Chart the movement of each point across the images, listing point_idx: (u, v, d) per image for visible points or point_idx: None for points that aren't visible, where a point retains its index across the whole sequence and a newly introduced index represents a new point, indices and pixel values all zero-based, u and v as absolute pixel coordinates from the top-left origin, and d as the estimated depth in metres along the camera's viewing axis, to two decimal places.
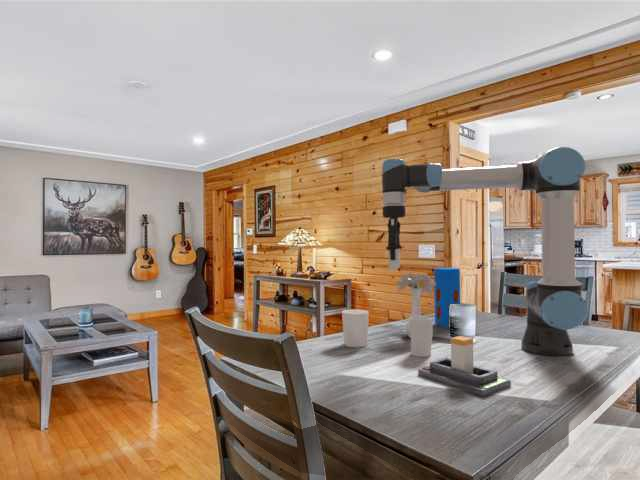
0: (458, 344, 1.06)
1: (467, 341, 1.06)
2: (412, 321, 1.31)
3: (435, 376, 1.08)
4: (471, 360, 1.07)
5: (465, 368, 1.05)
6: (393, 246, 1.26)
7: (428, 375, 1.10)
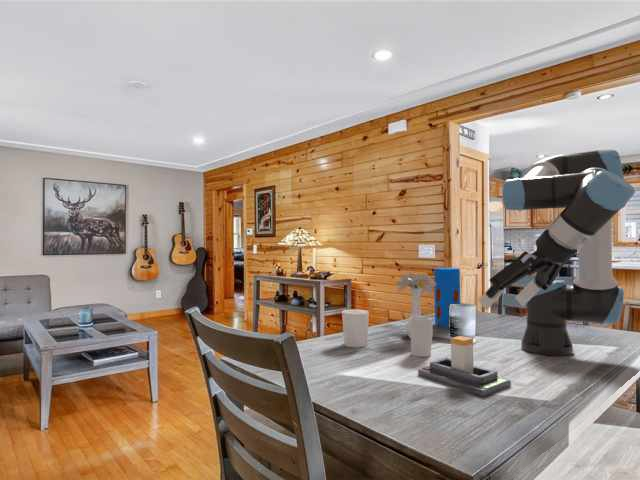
0: (458, 344, 1.06)
1: (467, 341, 1.06)
2: (412, 321, 1.31)
3: (435, 376, 1.08)
4: (471, 360, 1.07)
5: (465, 368, 1.05)
6: None
7: (428, 375, 1.10)
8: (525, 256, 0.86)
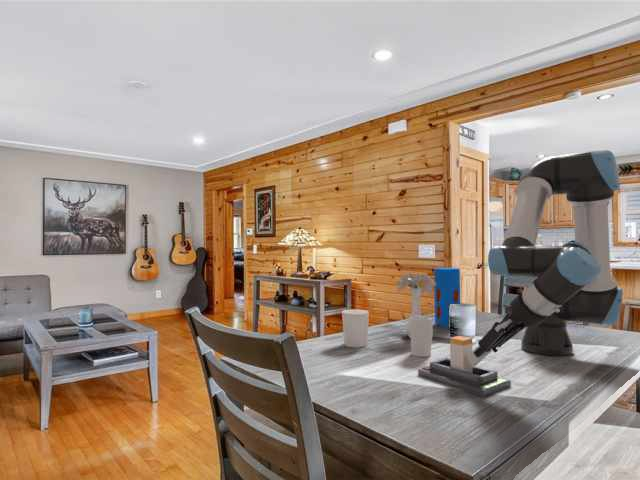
0: (457, 344, 1.07)
1: (466, 341, 1.06)
2: (412, 321, 1.31)
3: (435, 376, 1.08)
4: None
5: (464, 368, 1.06)
6: None
7: (428, 375, 1.10)
8: (496, 327, 0.93)
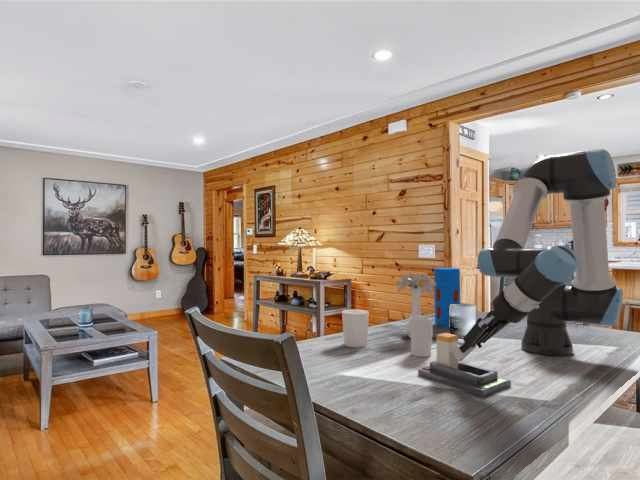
0: (443, 341, 1.10)
1: (452, 338, 1.10)
2: (412, 321, 1.31)
3: (435, 376, 1.08)
4: None
5: (450, 363, 1.09)
6: None
7: (428, 375, 1.10)
8: (479, 323, 0.97)
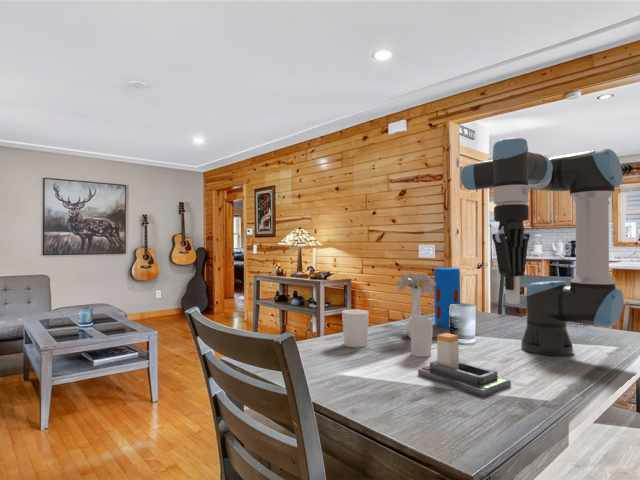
0: (444, 341, 1.10)
1: (452, 338, 1.10)
2: (412, 321, 1.31)
3: (435, 376, 1.08)
4: (456, 356, 1.11)
5: (451, 364, 1.09)
6: None
7: (428, 375, 1.10)
8: (496, 238, 0.93)
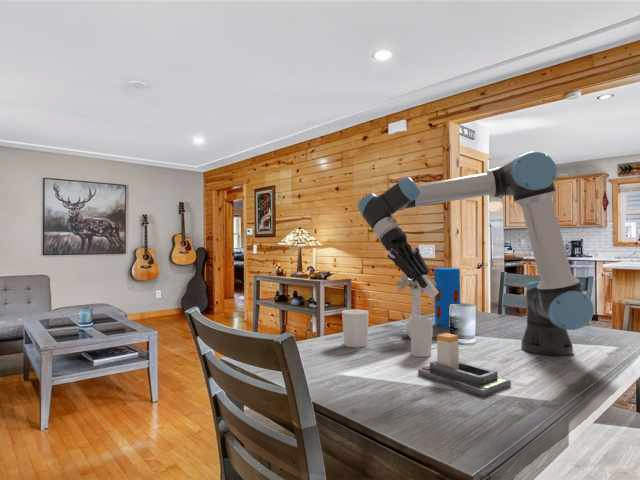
0: (444, 341, 1.10)
1: (452, 338, 1.10)
2: (412, 321, 1.31)
3: (435, 376, 1.08)
4: (456, 356, 1.11)
5: (451, 364, 1.09)
6: None
7: (428, 375, 1.10)
8: (390, 255, 1.19)
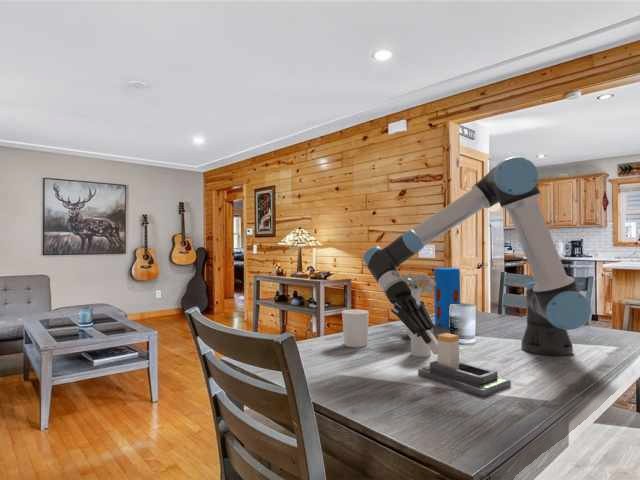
0: (444, 341, 1.10)
1: (453, 338, 1.10)
2: None
3: (435, 376, 1.08)
4: (457, 356, 1.10)
5: (451, 364, 1.09)
6: None
7: (428, 375, 1.10)
8: (393, 310, 1.20)
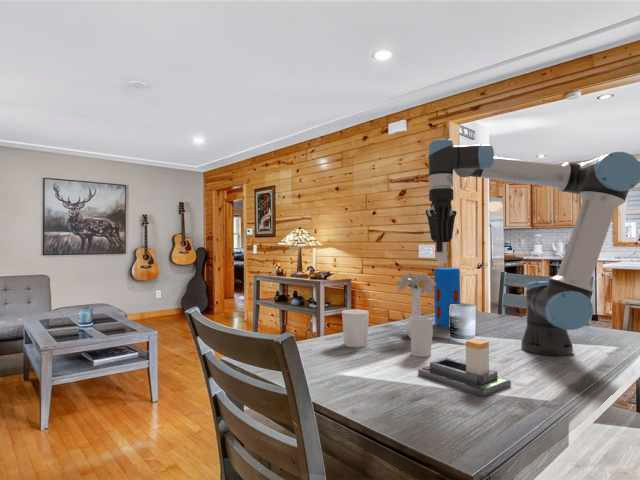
0: (473, 348, 1.03)
1: (483, 344, 1.02)
2: (412, 321, 1.31)
3: (435, 376, 1.08)
4: (487, 364, 1.03)
5: (481, 372, 1.02)
6: None
7: (428, 375, 1.10)
8: (428, 212, 1.26)
